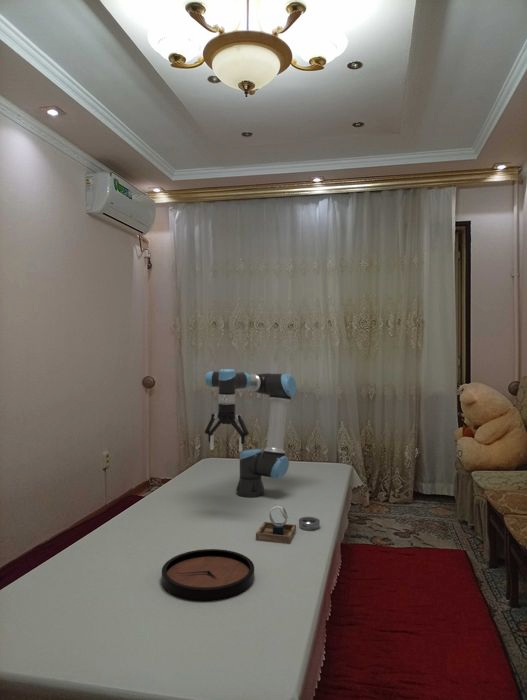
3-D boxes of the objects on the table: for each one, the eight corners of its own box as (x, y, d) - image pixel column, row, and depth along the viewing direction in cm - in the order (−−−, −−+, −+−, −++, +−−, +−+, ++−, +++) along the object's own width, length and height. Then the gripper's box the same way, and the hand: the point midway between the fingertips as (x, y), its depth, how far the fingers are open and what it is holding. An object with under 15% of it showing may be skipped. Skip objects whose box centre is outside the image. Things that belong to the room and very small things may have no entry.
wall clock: (267, 556, 185) (232, 596, 156) (266, 567, 185) (232, 610, 156) (189, 543, 196) (143, 579, 166) (189, 554, 196) (143, 591, 166)
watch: (288, 535, 214) (288, 509, 213) (268, 534, 214) (268, 508, 214) (288, 530, 219) (288, 504, 219) (269, 530, 220) (269, 504, 219)
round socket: (303, 522, 231) (303, 515, 231) (322, 525, 227) (322, 518, 227) (295, 528, 223) (295, 521, 223) (315, 532, 219) (315, 525, 219)
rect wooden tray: (264, 528, 223) (264, 521, 223) (296, 531, 220) (296, 524, 220) (255, 540, 210) (255, 533, 210) (289, 543, 206) (289, 536, 206)
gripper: (197, 403, 232) (197, 450, 232) (251, 405, 226) (250, 453, 226) (203, 401, 239) (203, 447, 239) (255, 403, 233) (255, 450, 233)
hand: (226, 450), depth 233 cm, fingers open, 13 cm apart
